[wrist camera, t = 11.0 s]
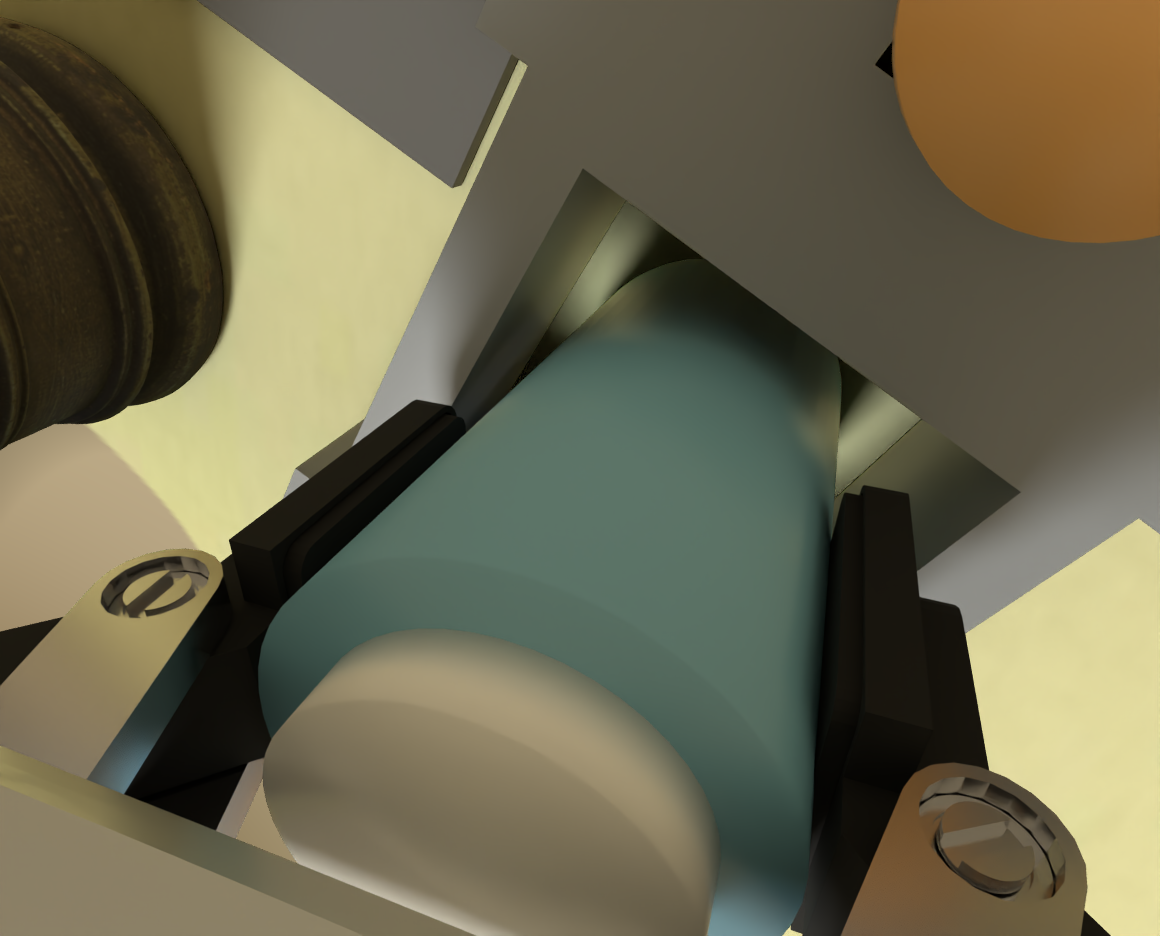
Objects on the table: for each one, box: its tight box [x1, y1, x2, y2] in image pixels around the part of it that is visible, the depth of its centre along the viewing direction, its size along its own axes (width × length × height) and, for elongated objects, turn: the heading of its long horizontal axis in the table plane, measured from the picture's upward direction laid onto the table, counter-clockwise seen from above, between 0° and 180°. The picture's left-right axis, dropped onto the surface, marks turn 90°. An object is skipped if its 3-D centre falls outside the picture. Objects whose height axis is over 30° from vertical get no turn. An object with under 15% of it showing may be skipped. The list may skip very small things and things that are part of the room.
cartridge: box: [258, 259, 842, 936], centre depth 10 cm, size 5×5×11 cm
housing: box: [283, 0, 1160, 633], centre depth 13 cm, size 11×22×4 cm, turn 148°
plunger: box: [892, 0, 1160, 243], centre depth 8 cm, size 3×3×6 cm
